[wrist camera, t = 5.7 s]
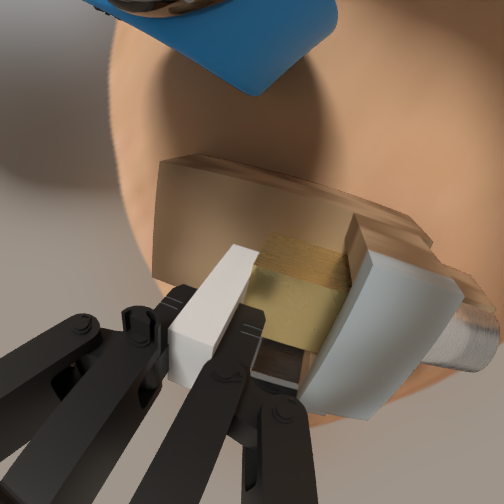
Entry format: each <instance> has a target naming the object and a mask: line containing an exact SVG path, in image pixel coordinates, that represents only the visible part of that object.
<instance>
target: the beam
mask: <svg viewBox="0 0 504 504" xmlns="http://www.w3.org/2000/svg"><path fill="white" fill-rule="evenodd" d="M270 232H275V233H278V234H281V235H284V236H288V237H291V238H294V239H297V240H300V241H304V242H307V243H310V244H313V245H316V246H319V247H322V248H326V249H329V250H332V251H335V252H338V253H341V254H344V255H347V256H348V260H349V266H350V273H351V279H352V287H351V290H350V292H349V294H348V296H347V298H346V300H345V302H344V304H343V307H342V309H341V311H340V313H339V315H338V317H337V319H336V321H335V323H334V325H333V327H332V329H331V331H330V333H329V334H328V336H327V338H326V340H325V342H324V344H323V346H322V348H321V349H320V351H319V353H314V352H311V351H307V350H304V355H303V361H302V368H301V374H300V380H299V386H298V392H297V397H296V399H298V400H299V401H300V402H301V403H302V404H303V405H304V406H305V409H307V410H311V411H316V412H321V413H326V414H331V415H336V416H341V417H347V418H353V419H360V420H369V419H370V418H371V417H372V416H373V415H374V414H375V413H376V412H377V411H378V410H379V409H380V408H381V407H382V406H383V405H384V404H385V403H386V402H387V400H388V399H389V398H390V397H391V396H392V395H393V394H394V393H395V392H396V391H397V390H398V389H399V387H400V386H401V385H402V384H403V383H404V382H405V381H406V379H407V378H408V377H409V376H410V375H411V373H412V372H413V371H414V370H415V369H416V367H417V366H418V365H419V364H420V362H421V361H422V360H423V358H424V357H425V356H426V355H427V353H428V352H429V351H430V349H431V348H432V346H433V345H434V344H435V342H436V341H437V339H438V338H439V337H440V335H441V334H442V332H443V331H444V329H445V328H446V326H447V325H448V323H449V322H450V320H451V319H452V317H453V315H454V314H455V312H456V311H457V309H458V307H459V306H460V304H461V302H463V303H466V304H469V305H472V306H474V307H477V308H480V309H483V310H485V311H488V312H491V313H492V314H493V313H494V312H495V310H496V308H495V306H494V305H493V304H492V302H491V301H490V300H489V298H488V297H487V296H486V294H485V293H484V292H483V290H482V289H481V288H480V286H479V285H478V284H477V283H476V281H475V280H474V279H473V278H472V277H471V275H468V274H466V273H463V272H461V271H459V270H456V269H454V268H451V267H449V266H446V265H444V264H441V262H440V261H439V260H438V259H437V257H436V256H435V255H434V253H433V252H432V251H431V250H430V248H431V246H432V244H433V241H432V240H431V239H430V238H429V236H428V235H427V234H426V233H425V232H424V231H423V230H422V229H421V228H420V227H419V226H418V225H417V224H416V223H415V222H414V221H413V220H412V219H411V217H410V216H408V215H405V214H403V213H400V212H398V211H395V210H393V209H390V208H387V207H385V206H382V205H379V204H376V203H374V202H371V201H368V200H365V199H362V198H359V197H357V196H354V195H351V194H348V193H345V192H342V191H339V190H335V189H332V188H329V187H326V186H323V185H319V184H316V183H313V182H309V181H306V180H303V179H299V178H296V177H292V176H289V175H285V174H281V173H277V172H274V171H270V170H266V169H262V168H258V167H254V166H250V165H246V164H242V163H237V162H233V161H228V160H224V159H219V158H215V157H210V156H205V155H200V154H193V155H188V156H183V157H178V158H173V159H168V160H164V161H160V164H159V173H158V182H157V192H156V203H155V216H154V232H153V255H152V277H153V278H155V279H158V280H161V281H163V282H166V283H168V284H171V285H174V286H176V287H177V286H179V285H181V284H185V285H188V286H191V287H193V288H196V289H199V287H200V286H201V285H202V283H203V282H204V281H205V280H206V278H207V277H208V276H209V274H210V273H211V272H212V271H213V269H214V268H215V267H216V266H217V264H218V263H219V262H220V260H221V259H222V258H223V257H224V255H225V254H226V253H227V251H228V250H229V249H230V248H231V246H232V245H233V244H235V245H238V246H242V247H245V248H248V249H251V250H254V251H258V252H260V251H261V249H262V247H263V245H264V243H265V241H266V240H267V238H268V236H269V234H270Z"/></svg>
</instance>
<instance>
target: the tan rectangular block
mask: <svg viewBox="0 0 504 504" xmlns="http://www.w3.org/2000/svg"><path fill="white" fill-rule="evenodd" d="M351 287H352V279H351V273H350V266H349V260H348V256H347V255H344V254H341V253H338V252H335V251H332V250H329V249H326V248H322V247H319V246H316V245H313V244H310V243H307V242H304V241H300V240H297V239H294V238H291V237H288V236H284V235H281V234H278V233H275V232H270V234H269V236H268V238H267V240H266V241H265V243H264V245H263V247H262V249H261V251H260V252H259V254H258V256H257V258H256V260H255V262H254V264H253V266H252V270H251V277H250V280H249V284H248V288H247V292H246V296H245V300H244V304H245V305H248V306H251V307H254V308H257V309H260V310H263V311H264V314H265V318H266V322H265V325H264V328H263V331H262V334H261V337H264V338H267V339H271V340H274V341H277V342H280V343H283V344H287V345H290V346H293V347H297V348H300V349H304V350H307V351H311V352H314V353H319V351H320V349H321V348H322V346H323V344H324V342H325V340H326V338H327V336H328V334H329V333H330V331H331V329H332V327H333V325H334V323H335V321H336V319H337V317H338V315H339V313H340V311H341V309H342V307H343V304H344V302H345V300H346V298H347V296H348V294H349V292H350V290H351Z"/></svg>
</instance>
